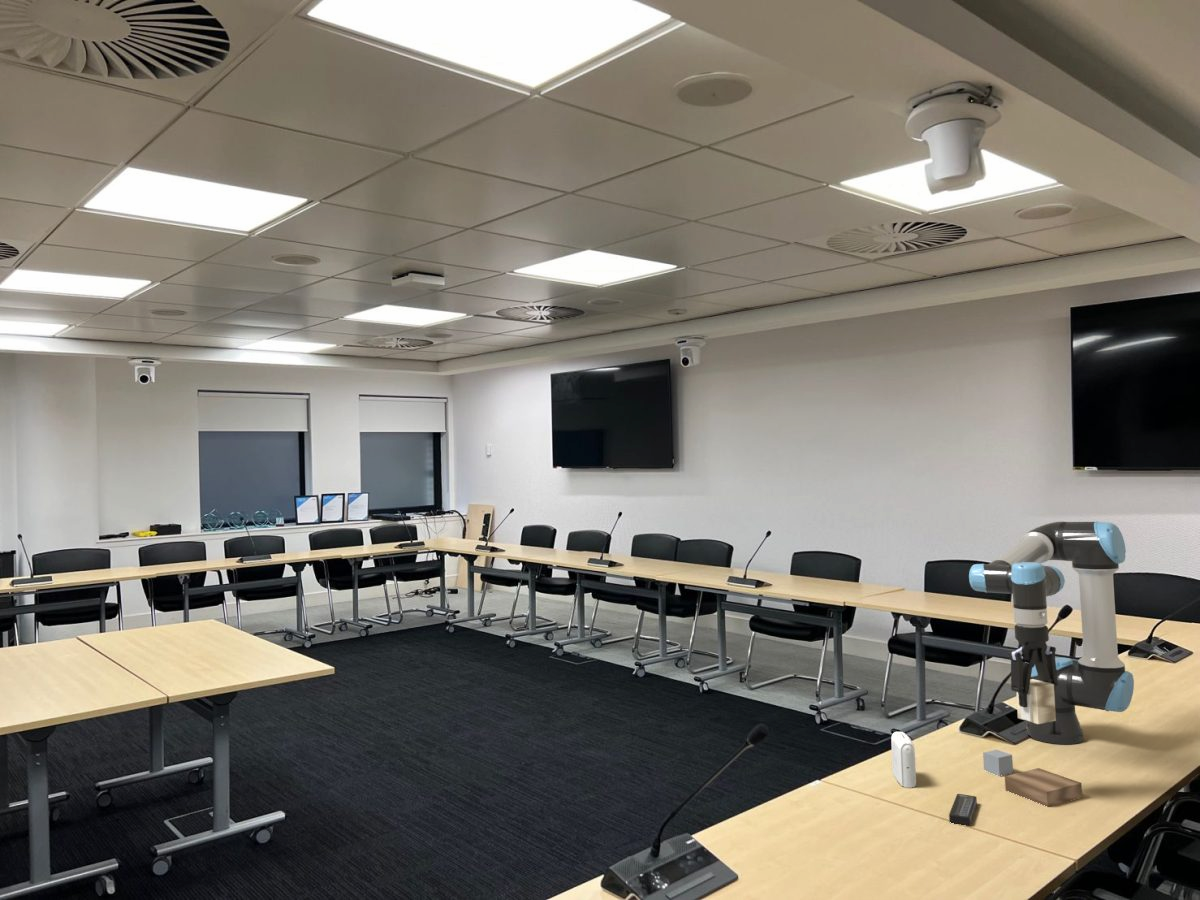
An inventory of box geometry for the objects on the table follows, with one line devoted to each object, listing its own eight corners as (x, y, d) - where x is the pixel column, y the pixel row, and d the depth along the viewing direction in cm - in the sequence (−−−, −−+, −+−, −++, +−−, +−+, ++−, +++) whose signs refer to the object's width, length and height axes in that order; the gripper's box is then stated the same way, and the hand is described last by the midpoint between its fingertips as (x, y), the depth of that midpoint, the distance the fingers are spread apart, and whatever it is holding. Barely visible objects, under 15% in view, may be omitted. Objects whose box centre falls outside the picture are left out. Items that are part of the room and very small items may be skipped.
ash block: (1034, 714, 210) (1032, 679, 211) (1055, 720, 205) (1053, 684, 205) (1017, 718, 208) (1015, 682, 208) (1038, 724, 202) (1036, 687, 203)
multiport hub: (949, 825, 191) (948, 814, 191) (957, 802, 203) (957, 793, 203) (970, 828, 188) (969, 818, 188) (977, 805, 201) (976, 796, 201)
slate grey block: (997, 768, 224) (996, 749, 225) (1013, 773, 220) (1012, 754, 220) (984, 771, 223) (983, 752, 223) (999, 777, 218) (998, 757, 218)
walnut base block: (1039, 783, 213) (1038, 768, 213) (1082, 799, 202) (1081, 782, 202) (1005, 792, 208) (1004, 776, 209) (1047, 808, 197) (1046, 791, 198)
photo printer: (918, 788, 212) (916, 739, 213) (901, 788, 213) (899, 739, 213) (907, 774, 222) (904, 727, 223) (891, 774, 223) (888, 727, 223)
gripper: (1016, 631, 200) (1021, 727, 199) (1071, 622, 207) (1076, 715, 206) (990, 626, 207) (996, 719, 206) (1045, 618, 214) (1050, 708, 213)
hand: (1036, 717), depth 206 cm, fingers closed on ash block, 6 cm apart
